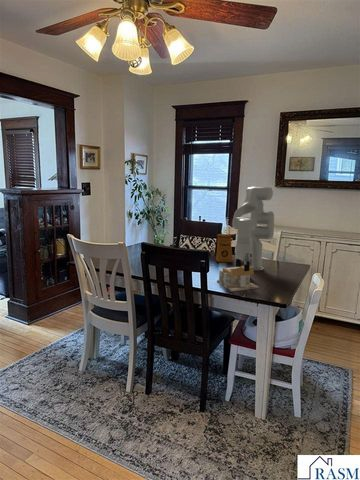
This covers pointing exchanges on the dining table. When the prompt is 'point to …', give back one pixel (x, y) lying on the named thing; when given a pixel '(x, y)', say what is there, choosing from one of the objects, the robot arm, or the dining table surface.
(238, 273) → the tan u-shaped bracket
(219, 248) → the coffee package
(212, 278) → the dining table surface
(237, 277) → the white block cluster
